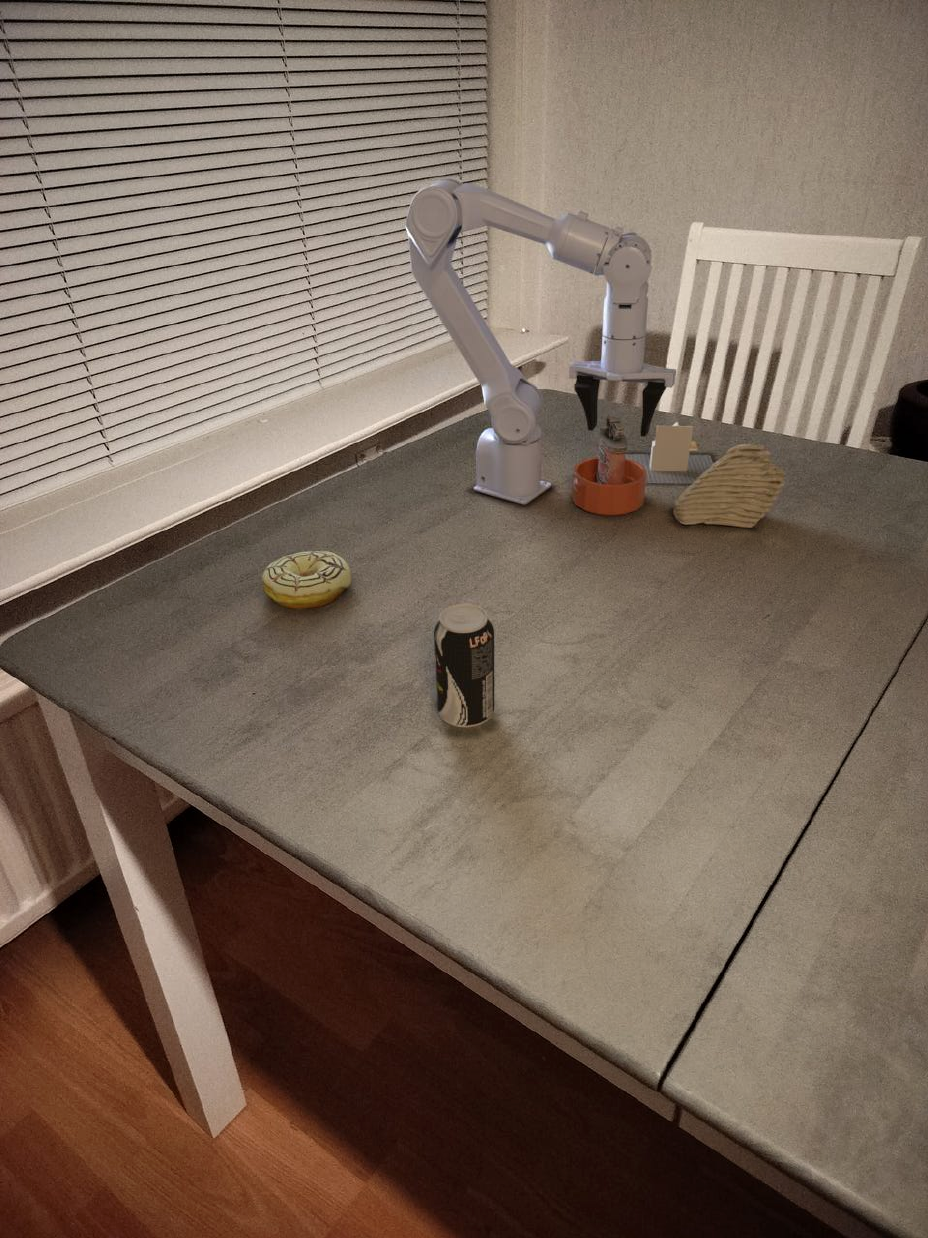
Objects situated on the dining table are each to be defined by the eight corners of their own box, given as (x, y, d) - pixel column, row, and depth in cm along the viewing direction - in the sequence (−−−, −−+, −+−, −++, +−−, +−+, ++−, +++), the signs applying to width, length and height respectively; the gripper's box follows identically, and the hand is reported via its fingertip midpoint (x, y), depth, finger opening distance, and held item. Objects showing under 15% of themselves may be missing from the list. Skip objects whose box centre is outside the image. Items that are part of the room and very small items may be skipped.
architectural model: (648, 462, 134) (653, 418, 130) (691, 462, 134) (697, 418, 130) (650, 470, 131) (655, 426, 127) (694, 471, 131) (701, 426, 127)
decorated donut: (368, 591, 103) (365, 566, 101) (295, 625, 98) (290, 598, 95) (322, 561, 110) (318, 536, 108) (250, 590, 104) (245, 565, 102)
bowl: (559, 506, 122) (561, 475, 119) (593, 481, 129) (595, 451, 126) (623, 524, 117) (626, 492, 114) (654, 497, 124) (658, 466, 121)
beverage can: (439, 695, 86) (434, 599, 79) (494, 695, 86) (494, 599, 79) (436, 732, 81) (431, 633, 75) (494, 733, 81) (494, 633, 74)
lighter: (592, 474, 124) (596, 410, 119) (614, 472, 125) (619, 408, 119) (604, 497, 118) (609, 430, 112) (627, 496, 118) (634, 429, 112)
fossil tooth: (670, 516, 121) (776, 509, 119) (676, 535, 116) (787, 527, 114) (672, 441, 115) (783, 432, 113) (678, 457, 110) (795, 448, 108)
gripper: (562, 338, 110) (561, 435, 118) (671, 346, 105) (662, 446, 113) (578, 324, 116) (576, 418, 123) (683, 331, 110) (673, 428, 118)
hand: (618, 430), depth 118 cm, fingers open, 7 cm apart
